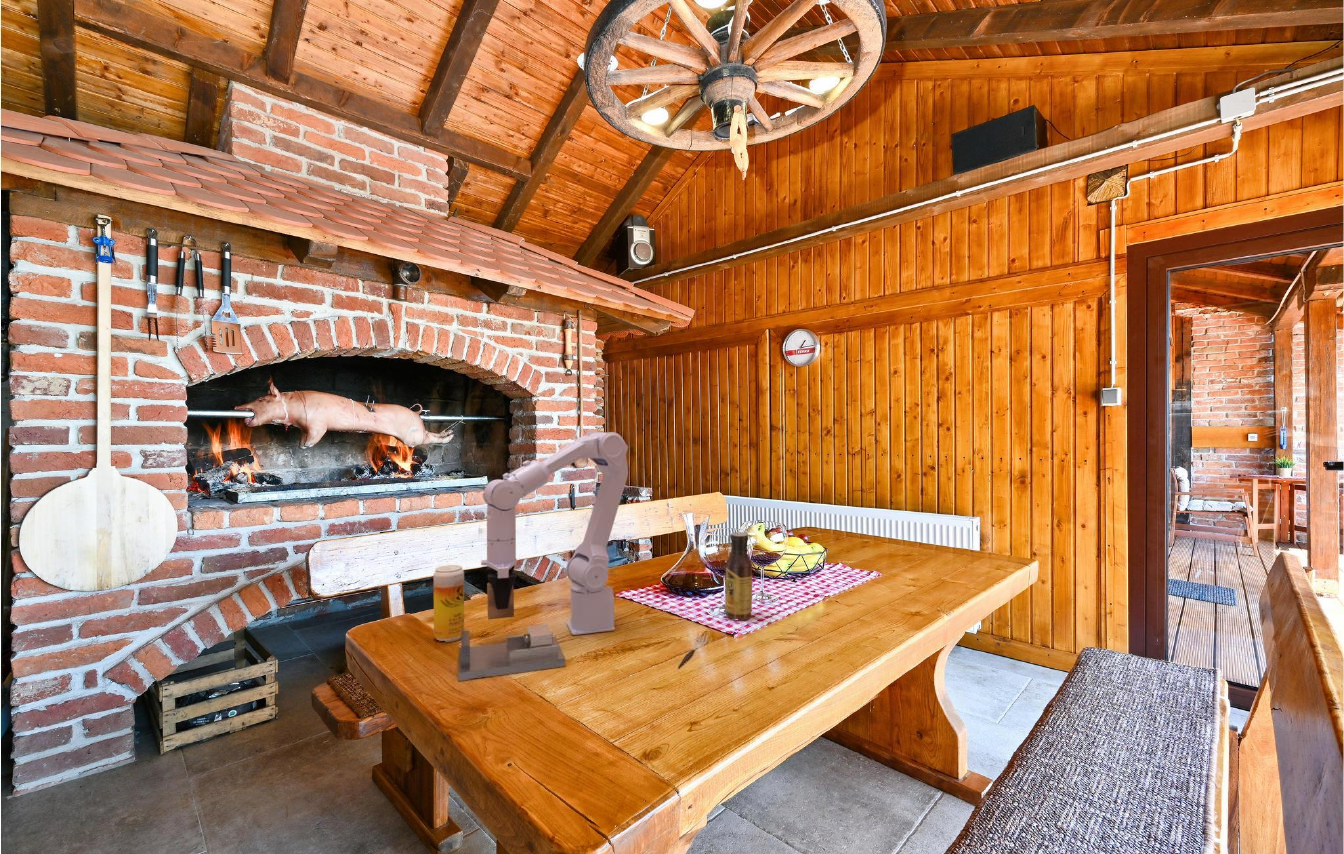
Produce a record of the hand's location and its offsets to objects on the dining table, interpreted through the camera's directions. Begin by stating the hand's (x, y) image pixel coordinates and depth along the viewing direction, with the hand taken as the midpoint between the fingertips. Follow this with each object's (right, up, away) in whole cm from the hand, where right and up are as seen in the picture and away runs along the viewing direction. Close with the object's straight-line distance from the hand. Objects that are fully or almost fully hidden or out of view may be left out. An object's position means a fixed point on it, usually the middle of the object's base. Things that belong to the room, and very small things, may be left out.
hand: (501, 604), depth 122 cm
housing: (0, -2, 0) cm, 2 cm away
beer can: (-13, -9, +5) cm, 16 cm away
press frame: (+4, -9, -7) cm, 12 cm away
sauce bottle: (+51, -9, +18) cm, 54 cm away
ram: (+9, -7, -6) cm, 12 cm away
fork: (+39, -9, -3) cm, 40 cm away
